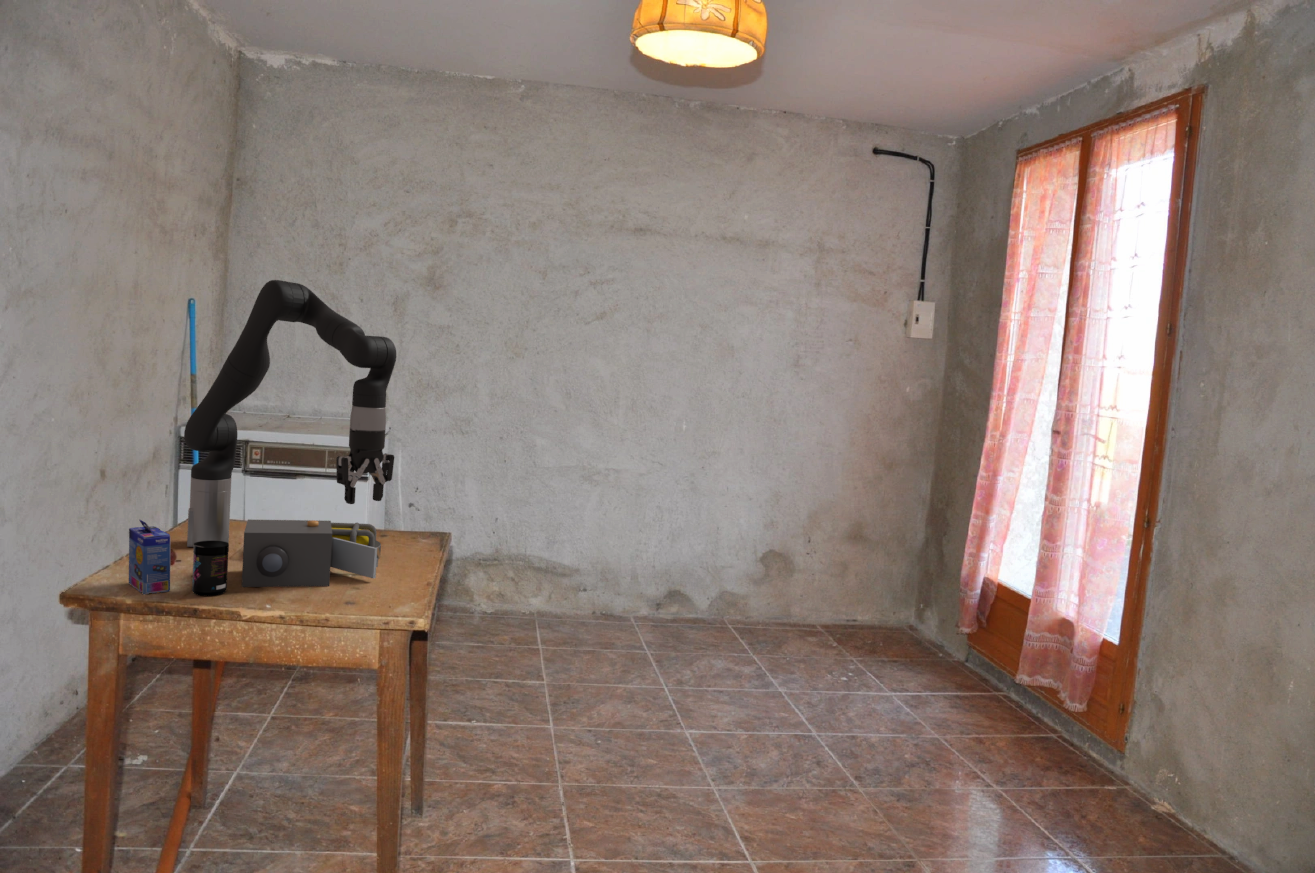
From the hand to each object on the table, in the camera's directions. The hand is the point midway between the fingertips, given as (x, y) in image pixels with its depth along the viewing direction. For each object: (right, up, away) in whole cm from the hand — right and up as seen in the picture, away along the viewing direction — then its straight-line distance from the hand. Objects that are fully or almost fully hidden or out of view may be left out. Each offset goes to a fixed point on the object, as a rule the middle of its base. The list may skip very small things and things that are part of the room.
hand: (363, 501), depth 208 cm
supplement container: (-30, -19, -9) cm, 36 cm away
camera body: (-19, -18, +5) cm, 27 cm away
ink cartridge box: (-42, -18, -10) cm, 47 cm away
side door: (-6, -17, +13) cm, 22 cm away
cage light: (-21, -16, +29) cm, 39 cm away
